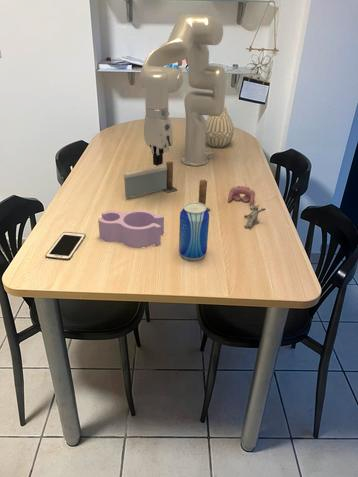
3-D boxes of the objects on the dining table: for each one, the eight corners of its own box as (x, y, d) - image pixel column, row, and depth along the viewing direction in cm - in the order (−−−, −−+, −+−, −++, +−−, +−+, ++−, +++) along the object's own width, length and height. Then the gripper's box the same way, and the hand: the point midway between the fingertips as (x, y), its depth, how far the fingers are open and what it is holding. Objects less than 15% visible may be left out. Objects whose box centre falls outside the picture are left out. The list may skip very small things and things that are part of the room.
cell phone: (86, 236, 128) (86, 233, 127) (69, 261, 115) (69, 259, 115) (63, 233, 128) (63, 231, 128) (44, 259, 116) (44, 256, 116)
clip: (95, 244, 123) (93, 225, 119) (107, 225, 134) (105, 207, 130) (158, 250, 121) (158, 231, 118) (165, 230, 132) (165, 212, 128)
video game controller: (253, 206, 151) (256, 188, 150) (252, 206, 147) (256, 187, 146) (228, 202, 154) (231, 184, 153) (226, 202, 149) (229, 183, 149)
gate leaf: (164, 187, 158) (164, 165, 153) (166, 188, 156) (167, 166, 151) (124, 196, 150) (123, 173, 145) (127, 198, 148) (126, 175, 144)
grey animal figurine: (232, 224, 136) (241, 206, 141) (243, 235, 138) (252, 217, 143) (252, 216, 128) (262, 197, 133) (264, 228, 130) (273, 209, 135)
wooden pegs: (161, 189, 159) (161, 162, 153) (170, 186, 161) (171, 159, 155) (200, 214, 141) (202, 184, 135) (210, 211, 144) (212, 182, 138)
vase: (237, 144, 210) (241, 105, 199) (223, 152, 198) (227, 111, 188) (211, 138, 217) (213, 100, 207) (196, 146, 206) (198, 106, 195)
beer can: (177, 246, 123) (178, 200, 114) (204, 246, 124) (207, 200, 115) (180, 262, 116) (181, 214, 107) (208, 261, 116) (212, 213, 108)
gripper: (181, 114, 128) (180, 167, 138) (150, 105, 137) (151, 155, 147) (164, 119, 123) (164, 173, 134) (133, 109, 132) (136, 161, 142)
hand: (158, 164), depth 140 cm, fingers closed
